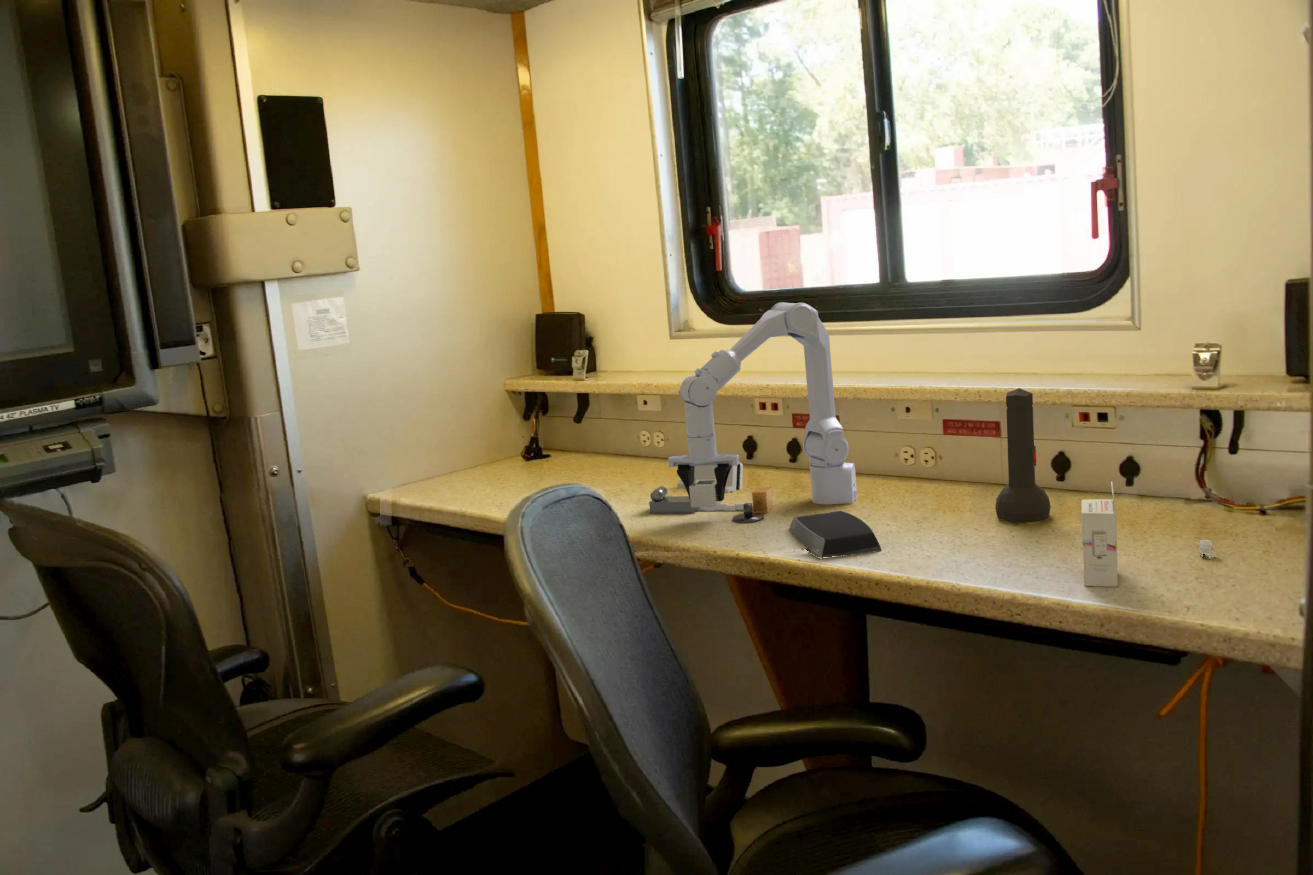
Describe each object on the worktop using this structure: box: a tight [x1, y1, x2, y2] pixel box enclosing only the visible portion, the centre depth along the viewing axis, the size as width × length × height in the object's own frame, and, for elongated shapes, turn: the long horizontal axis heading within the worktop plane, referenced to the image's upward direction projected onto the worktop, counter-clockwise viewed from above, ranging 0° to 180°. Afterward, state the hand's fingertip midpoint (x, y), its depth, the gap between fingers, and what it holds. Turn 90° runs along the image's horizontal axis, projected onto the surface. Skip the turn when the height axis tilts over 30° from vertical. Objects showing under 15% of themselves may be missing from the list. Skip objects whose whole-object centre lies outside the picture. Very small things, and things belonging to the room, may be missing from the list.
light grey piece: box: [676, 461, 744, 494], centre depth 243 cm, size 17×5×10 cm, turn 46°
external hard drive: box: [788, 510, 882, 558], centre depth 194 cm, size 13×19×4 cm
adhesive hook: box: [1193, 539, 1217, 559], centre depth 166 cm, size 3×3×3 cm
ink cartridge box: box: [1080, 480, 1118, 588], centre depth 160 cm, size 9×5×15 cm, turn 158°
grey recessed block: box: [689, 479, 724, 507], centre depth 212 cm, size 5×5×4 cm
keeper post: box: [732, 502, 765, 524], centre depth 212 cm, size 6×6×3 cm
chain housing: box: [648, 485, 697, 515], centre depth 224 cm, size 10×5×5 cm, turn 71°
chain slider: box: [696, 486, 774, 514], centre depth 220 cm, size 18×5×4 cm, turn 71°
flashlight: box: [994, 387, 1052, 524], centre depth 196 cm, size 10×25×10 cm
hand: (707, 500), depth 212 cm, fingers closed on grey recessed block, 5 cm apart
